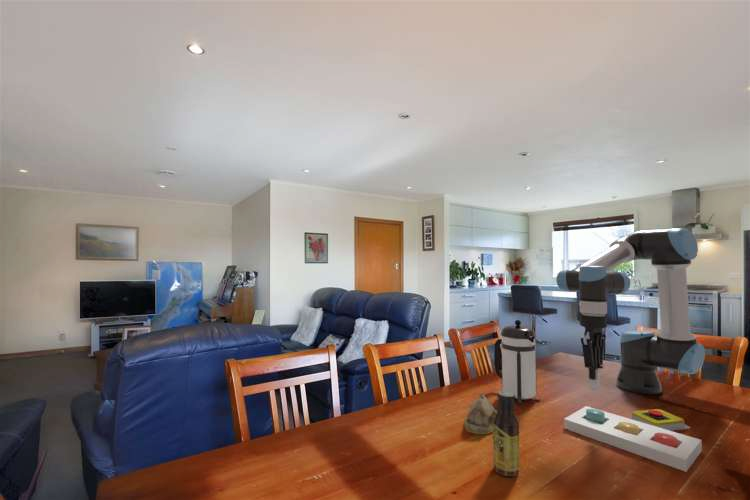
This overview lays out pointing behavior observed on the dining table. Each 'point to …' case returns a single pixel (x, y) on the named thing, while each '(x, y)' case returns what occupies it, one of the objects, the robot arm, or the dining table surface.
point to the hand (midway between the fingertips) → (594, 388)
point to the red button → (666, 439)
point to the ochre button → (628, 428)
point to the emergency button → (660, 419)
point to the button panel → (637, 439)
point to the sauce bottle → (506, 436)
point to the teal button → (595, 416)
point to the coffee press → (517, 361)
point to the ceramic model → (480, 416)
